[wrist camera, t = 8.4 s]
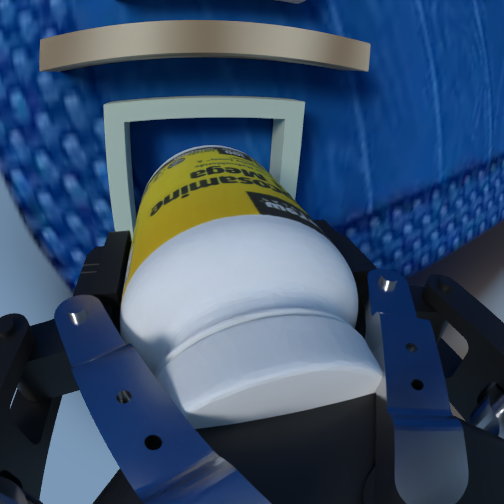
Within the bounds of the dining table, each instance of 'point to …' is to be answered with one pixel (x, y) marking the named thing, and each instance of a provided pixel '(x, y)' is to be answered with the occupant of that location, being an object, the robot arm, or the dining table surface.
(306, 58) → the edge strip
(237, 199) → the pill bottle
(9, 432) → the robot arm
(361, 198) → the dining table surface
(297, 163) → the keeper
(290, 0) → the keeper
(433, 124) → the dining table surface
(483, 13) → the dining table surface
